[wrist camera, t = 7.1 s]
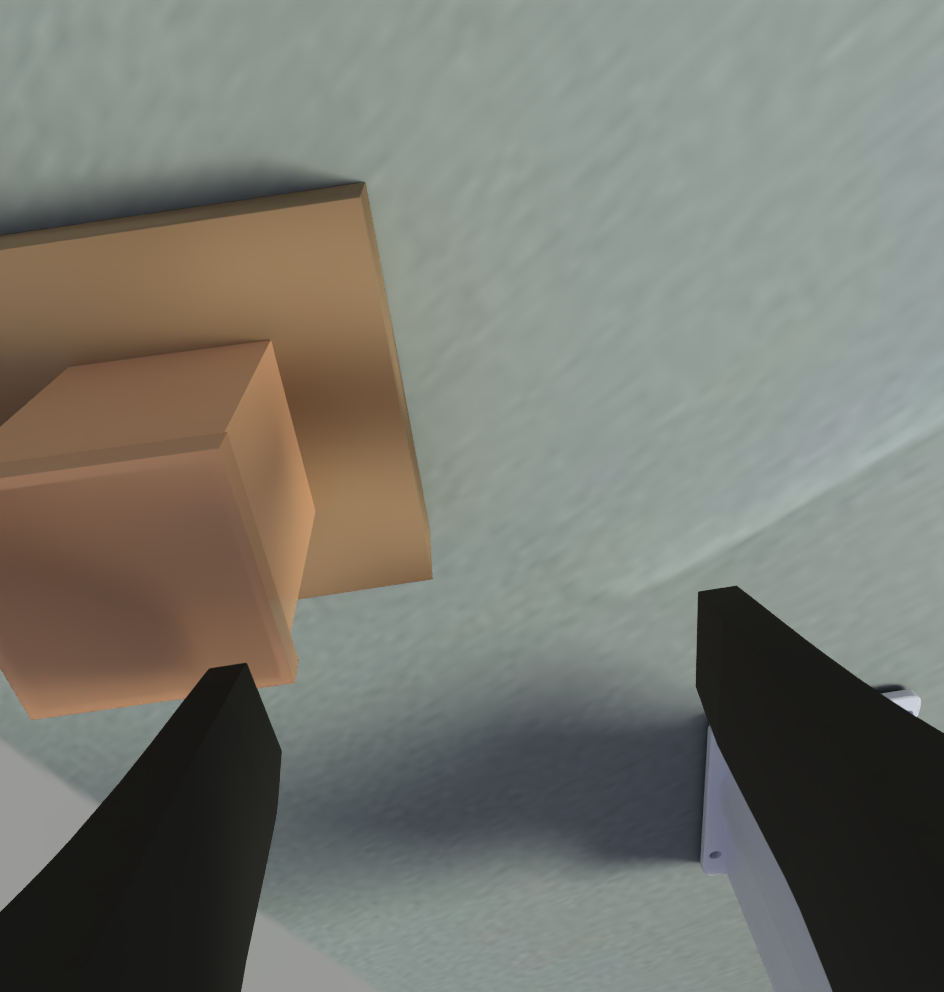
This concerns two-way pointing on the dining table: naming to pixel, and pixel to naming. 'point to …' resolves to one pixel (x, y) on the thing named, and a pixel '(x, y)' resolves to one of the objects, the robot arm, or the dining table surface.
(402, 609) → the dining table surface
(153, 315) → the walnut block
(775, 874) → the robot arm
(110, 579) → the square wooden stamp
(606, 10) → the dining table surface
